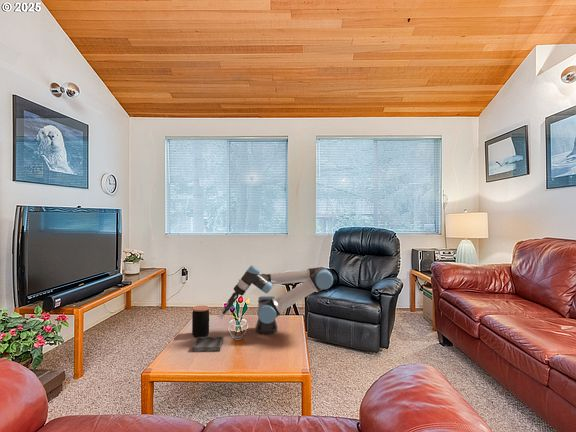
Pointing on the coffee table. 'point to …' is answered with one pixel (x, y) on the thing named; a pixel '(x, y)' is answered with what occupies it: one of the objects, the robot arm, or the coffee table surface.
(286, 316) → the coffee table surface
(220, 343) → the jar stand
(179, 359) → the coffee table surface
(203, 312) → the coffee jar
